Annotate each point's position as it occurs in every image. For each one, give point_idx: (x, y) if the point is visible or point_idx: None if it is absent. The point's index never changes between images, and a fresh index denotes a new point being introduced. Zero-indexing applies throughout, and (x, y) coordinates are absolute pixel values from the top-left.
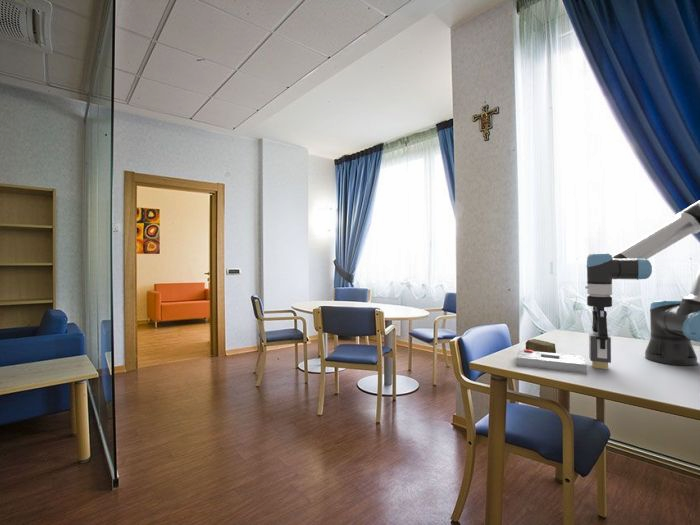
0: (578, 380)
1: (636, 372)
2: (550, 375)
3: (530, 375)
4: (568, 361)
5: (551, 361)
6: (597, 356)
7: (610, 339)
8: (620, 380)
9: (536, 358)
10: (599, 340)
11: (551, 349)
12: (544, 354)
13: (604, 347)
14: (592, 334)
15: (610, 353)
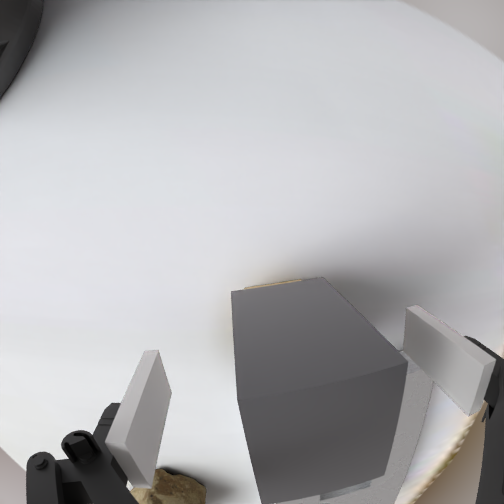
0: (488, 344)
1: (292, 147)
2: (459, 410)
3: (464, 435)
4: (406, 422)
5: (412, 452)
6: (405, 352)
7: (396, 353)
8: (459, 228)
9: (391, 484)
10: (478, 396)
11: (184, 495)
12: (319, 495)
13: (475, 344)
14: (294, 488)
15: (344, 300)
